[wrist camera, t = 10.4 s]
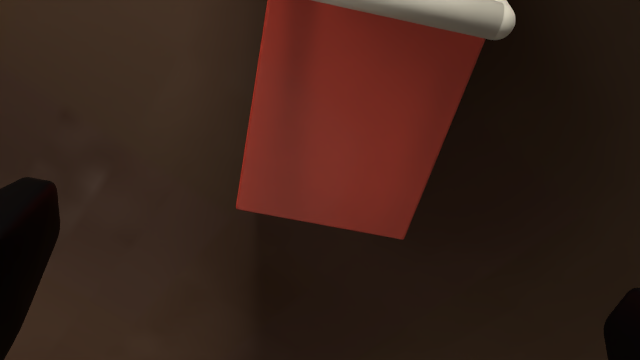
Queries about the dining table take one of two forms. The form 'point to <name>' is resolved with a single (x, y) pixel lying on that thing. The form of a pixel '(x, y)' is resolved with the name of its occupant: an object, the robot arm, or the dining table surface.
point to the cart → (358, 105)
